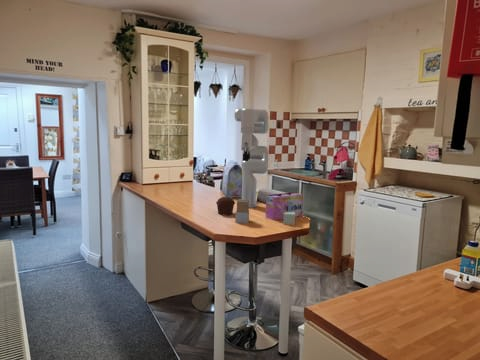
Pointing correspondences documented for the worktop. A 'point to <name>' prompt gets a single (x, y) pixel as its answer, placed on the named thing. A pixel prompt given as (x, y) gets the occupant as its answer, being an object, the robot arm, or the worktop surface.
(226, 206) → the muffin
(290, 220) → the sage block
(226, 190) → the lunch bag
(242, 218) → the base block
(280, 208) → the gum box
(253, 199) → the robot arm
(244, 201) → the walnut block
